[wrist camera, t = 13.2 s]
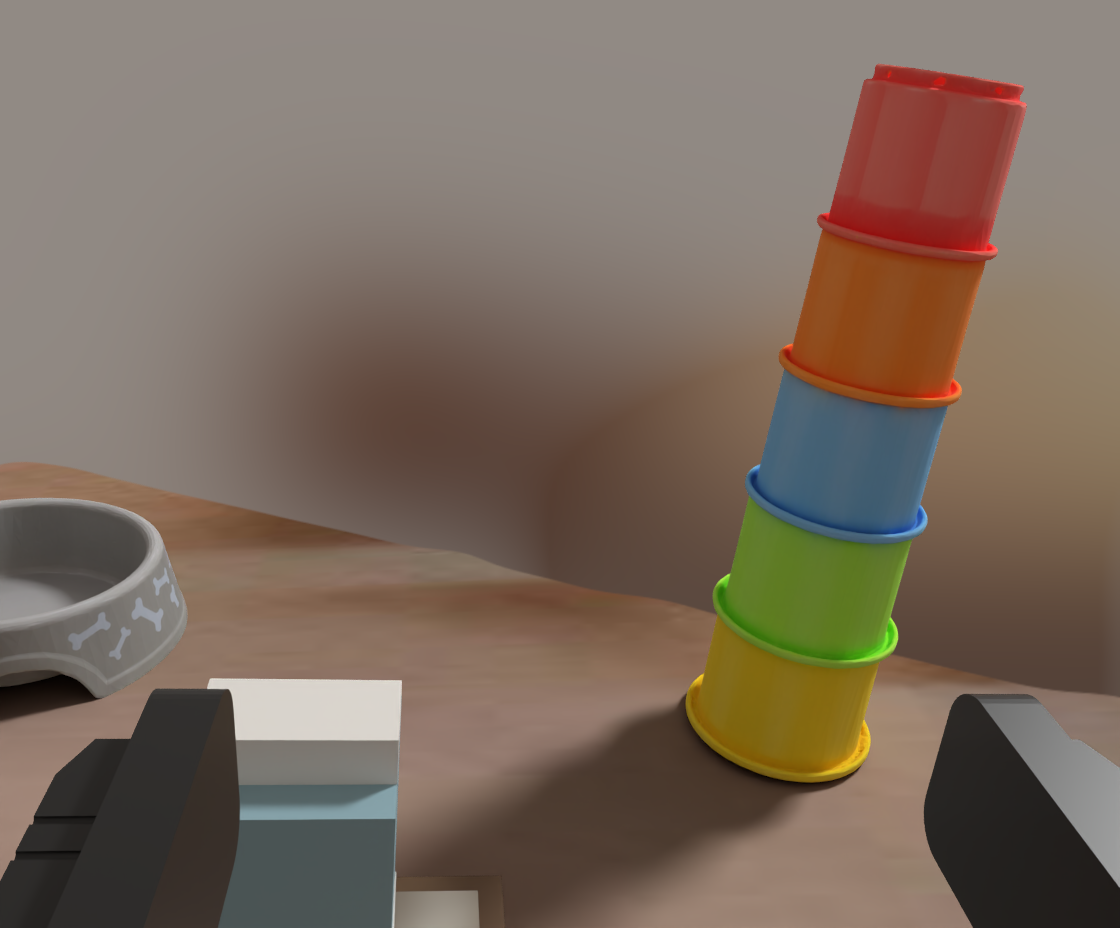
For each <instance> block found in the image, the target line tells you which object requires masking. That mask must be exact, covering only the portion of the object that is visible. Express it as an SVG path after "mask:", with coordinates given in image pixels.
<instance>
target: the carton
mask: <svg viewBox="0 0 1120 928" xmlns="http://www.w3.org/2000/svg"><path fill="white" fill-rule="evenodd" d="M207 689H229V690H230V692H231V695H232V700H233V708H234V722H235V737H236V752H237V766H238V781H239V796H240V824H239V836H238V845H237V851H236V857H235V862H234V867H233V871H232V875H231V878H230V882H229V886H228V890H227V894H226V898H225V902H224V906H223V910H222V913H221V917H220V921H219V925H218V928H394V920H395V894H396V872H395V855H396V829H397V803H398V776H399V750H400V724H401V697H402V695H401V690H402V680H305V679H210V681H209V684H208V687H207Z"/></svg>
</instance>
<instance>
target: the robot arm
mask: <svg viewBox="0 0 1120 928" xmlns="http://www.w3.org/2000/svg"><path fill="white" fill-rule="evenodd" d="M239 824H240V796H239V781H238V766H237V752H236V737H235V722H234V708H233V700H232V695H231V692H230V690H229V689H155V690H154V691H153V692H152V693H151V695H150V697H149V699H148V701H147V703H146V705H145V708H144V710H143V712H142V714H141V717H140V719H139V721H138V723H137V726H136V728H135V730H134V732H133V735H132V737H131V739H95V740H94V741H93V742H92V743H90V744H89V745H88V746H87V747H86V748H85V749H84V750H83V751H81V752H80V753H79V754H78V755H77V756H76V757H75V758H74V759H72V760H71V761H70V762H69V763H68V764H67V765H66V766H65V767H63V768H62V769H61V770H60V771H59V772H58V773H57V774H56V775H55V776H54V778H53V780H52V782H51V784H50V786H49V788H48V790H47V792H46V794H45V796H44V798H43V800H42V802H41V803H40V805H39V807H38V809H37V811H36V813H35V815H34V822H33V825H29V827H28V829H27V830H26V832H25V834H24V836H23V838H22V840H21V842H20V844H19V846H18V848H17V850H16V856H15V860H14V861H10V863H9V865H8V867H7V869H6V871H5V873H4V875H3V877H2V879H1V881H0V928H218V925H219V921H220V917H221V913H222V910H223V906H224V902H225V898H226V894H227V890H228V886H229V882H230V878H231V875H232V871H233V867H234V862H235V857H236V851H237V845H238V836H239ZM924 824H925V832H926V836H927V840H928V844H929V847H930V850H931V852H932V855H933V857H934V859H935V861H936V862H937V864H938V866H939V868H940V869H941V871H942V873H943V875H944V877H945V878H946V880H947V882H948V884H949V885H950V887H951V889H952V891H953V893H954V894H955V896H956V898H957V900H958V902H959V903H960V905H961V907H962V909H963V910H964V912H965V914H966V916H967V918H968V919H969V921H970V923H971V925H972V926H973V928H1120V768H1119V767H1118V766H1116V765H1115V764H1113V763H1112V762H1110V761H1109V760H1108V759H1106V758H1105V757H1103V756H1102V755H1101V754H1099V753H1098V752H1096V751H1095V750H1093V749H1092V748H1091V747H1089V746H1088V745H1086V744H1085V743H1084V742H1082V741H1081V740H1071V739H1070V737H1069V736H1068V735H1067V734H1066V733H1065V731H1064V730H1063V729H1062V728H1061V727H1060V725H1059V724H1058V723H1057V722H1056V721H1055V720H1054V718H1053V717H1052V716H1051V715H1050V714H1049V712H1048V711H1047V710H1046V709H1045V708H1044V706H1043V705H1042V704H1041V703H1040V702H1039V701H1038V700H1037V699H1036V698H1034V697H1033V696H1031V695H1028V694H963V695H960V696H959V697H958V698H957V699H956V700H955V701H954V703H953V705H952V707H951V710H950V713H949V716H948V720H947V723H946V727H945V730H944V734H943V737H942V741H941V744H940V748H939V751H938V755H937V759H936V762H935V766H934V769H933V773H932V776H931V780H930V783H929V787H928V790H927V794H926V798H925V804H924Z"/></svg>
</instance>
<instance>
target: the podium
mask: <svg viewBox="0 0 1120 928" xmlns="http://www.w3.org/2000/svg"><path fill="white" fill-rule="evenodd" d="M394 928H505V919H504V905H503V891H502V878H501V876H438V877H396V894H395V920H394Z"/></svg>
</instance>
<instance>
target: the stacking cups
mask: <svg viewBox="0 0 1120 928" xmlns="http://www.w3.org/2000/svg"><path fill="white" fill-rule="evenodd" d="M1023 90H1024V87H1023V86H1021V85H1017V84H1011V83H1004V82H999V81H993V80H986V79H979V78H974V77H968V76H961V75H955V74H947V73H942V72H936V71H929V70H921V69H915V68H908V67H900V66H892V65H884V64H877V65H876V67H875V74H874V76H873V78H872V79H866V80H864V83H863V87H862V91H861V94H860V98H859V102H858V106H857V110H856V114H855V118H854V122H853V126H852V129H851V134H850V137H849V141H848V145H847V149H846V153H845V157H844V161H843V164H842V168H841V172H840V176H839V180H838V183H837V187H836V191H835V195H834V199H833V202H832V206H831V210H830V213H824V214H820V215H819V216H818V218H817V223H818V224H819V226H820V227H821V228H822V229H823V230H822V233H821V236H820V240H819V244H818V248H817V252H816V256H815V260H814V264H813V268H812V272H811V276H810V280H809V284H808V288H807V292H806V296H805V299H804V304H803V308H802V312H801V315H800V319H799V323H798V327H797V331H796V335H795V339H794V343H793V344H790V345H787V346H785V347H783V348H782V349H781V351H780V352H779V362H780V364H781V365H782V366H783V367H784V373H783V376H782V380H781V384H780V389H779V392H778V396H777V400H776V404H775V408H774V412H773V416H772V420H771V424H770V428H769V432H768V436H767V440H766V444H765V448H764V452H763V456H762V460H761V464H760V465H758V466H755V467H754V468H752V469H751V470H750V471H749V472H748V474H747V476H746V480H745V487H746V490H747V492H748V495H749V499H748V503H747V507H746V512H745V516H744V520H743V524H742V528H741V533H740V537H739V541H738V545H737V549H736V553H735V557H734V562H733V566H732V570H731V573H730V574H728V575H726V576H725V577H723V578H722V579H721V580H720V581H719V582H718V583H717V585H716V586H715V588H714V591H713V604H714V607H715V610H716V612H717V614H718V615H717V619H716V623H715V628H714V632H713V637H712V641H711V645H710V650H709V654H708V659H707V663H706V667H705V672H704V673H703V674H702V675H700V676H699V677H698V678H697V679H696V680H695V681H694V682H693V683H692V684H691V686H690V687H689V689H688V692H687V696H686V704H685V705H686V712H687V717H688V719H689V721H690V723H691V725H692V727H693V728H694V730H695V731H696V732H697V734H698V735H699V736H700V737H701V739H702V740H703V741H704V742H705V743H707V744H708V745H709V746H710V747H711V748H712V749H713V750H715V751H716V752H717V753H719V754H720V755H722V756H723V757H725V758H726V759H728V760H730V761H732V762H733V763H735V764H737V765H739V766H741V767H744V768H746V769H748V770H751V771H753V772H756V773H758V774H761V775H765V776H768V777H772V778H776V779H781V780H786V781H795V782H810V783H813V782H823V781H830V780H834V779H838V778H841V777H844V776H846V775H848V774H850V773H852V772H854V771H855V770H856V769H857V768H859V767H860V766H861V765H862V763H863V762H864V761H865V759H866V757H867V755H868V753H869V748H870V742H871V739H870V733H869V730H868V727H867V725H866V723H865V721H864V717H865V713H866V709H867V706H868V702H869V698H870V695H871V691H872V687H873V684H874V680H875V676H876V672H877V669H878V665H879V662H880V661H882V660H884V659H885V658H887V657H888V656H889V655H891V654H892V652H893V651H894V649H895V647H896V644H897V641H898V632H897V628H896V626H895V623H894V622H893V620H892V619H891V618H890V616H891V612H892V609H893V605H894V602H895V598H896V595H897V591H898V587H899V584H900V580H901V577H902V574H903V570H904V566H905V563H906V559H907V556H908V552H909V548H910V545H911V541H912V539H913V538H914V537H917V536H919V535H920V534H921V533H922V532H923V531H924V529H925V527H926V524H927V515H926V513H925V511H924V509H923V508H922V506H921V505H920V502H921V498H922V495H923V491H924V488H925V485H926V481H927V478H928V474H929V471H930V467H931V463H932V460H933V457H934V453H935V450H936V446H937V443H938V439H939V435H940V431H941V428H942V425H943V421H944V418H945V414H946V411H947V407H948V405H951V404H953V403H955V402H956V401H958V399H959V398H960V396H961V392H962V389H961V387H960V385H959V384H958V383H957V382H956V381H955V380H954V379H953V376H954V372H955V368H956V365H957V361H958V357H959V354H960V351H961V347H962V343H963V340H964V336H965V333H966V329H967V325H968V322H969V318H970V315H971V311H972V308H973V305H974V301H975V298H976V294H977V291H978V287H979V284H980V280H981V277H982V274H983V270H984V266H985V261H986V260H991V259H993V258H994V257H996V255H997V253H998V250H997V248H996V247H995V246H993V245H992V244H989V243H988V242H989V239H990V235H991V232H992V228H993V225H994V221H995V217H996V214H997V210H998V207H999V203H1000V200H1001V196H1002V193H1003V189H1004V186H1005V182H1006V179H1007V175H1008V172H1009V169H1010V165H1011V162H1012V158H1013V155H1014V151H1015V148H1016V144H1017V140H1018V137H1019V134H1020V130H1021V127H1022V123H1023V120H1024V116H1025V112H1026V107H1027V106H1026V103H1023V102H1020V95H1021V93H1022V92H1023Z"/></svg>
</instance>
